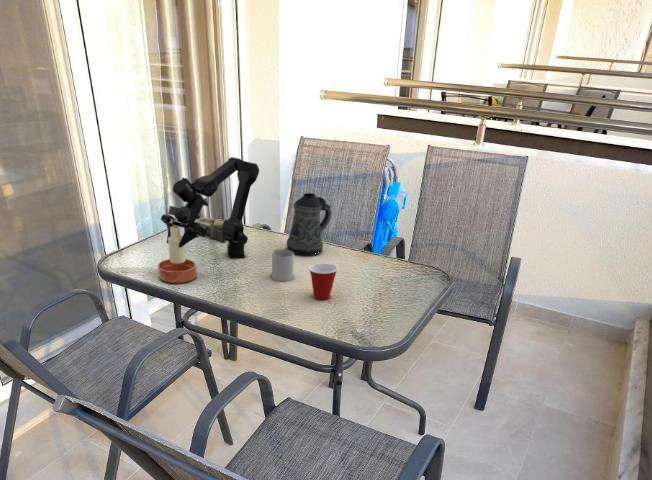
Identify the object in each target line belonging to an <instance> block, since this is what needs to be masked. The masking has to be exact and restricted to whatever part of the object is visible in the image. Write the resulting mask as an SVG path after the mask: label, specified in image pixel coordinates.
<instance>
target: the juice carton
mask: <svg viewBox="0 0 652 480" xmlns="http://www.w3.org/2000/svg"><path fill="white" fill-rule="evenodd" d="M195 222H196V223H199V224H201V225H202V226H203V227H204V228H205V229H206V231H207V234H206V236H205V237H208V238H210V239H214V240H217V241H219V242H222V243H224V242H226V240H225V238H224V236H223V234H222V230H223V229H222V227H223V224H224V221H220V220H216V219H213V218H210V217H207V218H202V219H199V220H198V221H195Z"/></svg>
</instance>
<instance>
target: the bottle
mask: <svg viewBox="0 0 652 480" xmlns="http://www.w3.org/2000/svg"><path fill="white" fill-rule="evenodd" d="M170 232H171V236H170V237H168V243H167V245H168V253H169V259H170V262H171V263H175V264H179V263H183V262H185V259H186V250H185V245H184V246H182V247H181V248H180V247H179V243H180V241H181V239H182V237H183V235H181V233H180V232H181V231H180V227H179V226H172V227H170Z"/></svg>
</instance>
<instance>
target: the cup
mask: <svg viewBox="0 0 652 480" xmlns="http://www.w3.org/2000/svg"><path fill="white" fill-rule="evenodd" d="M294 261H295V255H294V253H293V252H292V251H289V250H288V249H275V250H273V251H272V252H271V277H272V279H273V280H275V281H276V282H277V281H278V282H289V281H291V280H293V278H294Z"/></svg>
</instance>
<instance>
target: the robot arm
mask: <svg viewBox="0 0 652 480" xmlns="http://www.w3.org/2000/svg"><path fill="white" fill-rule="evenodd" d="M234 173H236V176H237V181H238V185H237V188H236V192H235V196H234V200H233V201H234V202H233V205H232V208H231V214H230V216H229V218H228V219H223V223H224V224H223V227H222V229H223V230H222V234H223V236H224V241H225V242H227V243H228V244H227V245H226V248H227V249H226V250H227V251H226V253H227V255H228V257H229V258H230V259H239V258H241V259H242V258H246V255H245V245H246V244H247V243H248V239H249V238H248V236H247V235H246V234H245V233H244V230H245V227H244V222H243V218H244V214H245V210H246V207H247V203H248V202H247V201H248V199H249V194H250V191H251V186H252V185H254V183H256V182H257V179H258V177H259V173H260V168H259V165H258V164H257V163H255V162H250V161H246V160H243V159H241V158H239V157H234V156H231V157H229V158H228V159H227V161H225V162H224V163H223V164H222V165H220V166H218V168H216V169H215V170H213V172H211V173H210V174H206V175H202V176H200V177H198V178H196V179H195V180H194V182H190V180H189V179H188V178H186V177H182V178H181V179H180V180H178V181H176V182H175V183H174V184H173V186H172V192H173V193H174V194H175V195H176V196H177V197H178V198H179V199H180V200H181V201H182V202H184V203H185V205H184V206H183V205H181V206H180V207H177V206H173V205H169V208H168V214H167V213H164V214H162V215H161V217H160V221H161V222H163V224H165V225H166V226H167V238H166V244H168V237H170V236H171V232H170V227H172V226H178V227H179V228H183V230H184V231H183V235H182V239H181V241H180V243H179V247H180V248H181V247H182V246H184V247H185V245H187V244H188V243H190V242H191V241H192V240H194V239H196V238H197V239H198V238H199V237H202V238H205V237H207V236H206V234H207V231H206V229H205V228H204V227H203V226H202V225H201V224H199V223H196V222H197V221H196V220H200V218H201V217H200V215H199V214H200V213H201V210H202V208H203V207H204V206H205V207H209V202H208V199H207V198H210V197H213V196H214V194H215V193H216V192H218V189H219V185H220V184H223V182H224V181H225V180H227V179H228V178H229V177H230V176H232V175H233V174H234ZM203 196H204V197H203ZM205 197H207V198H205Z"/></svg>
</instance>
